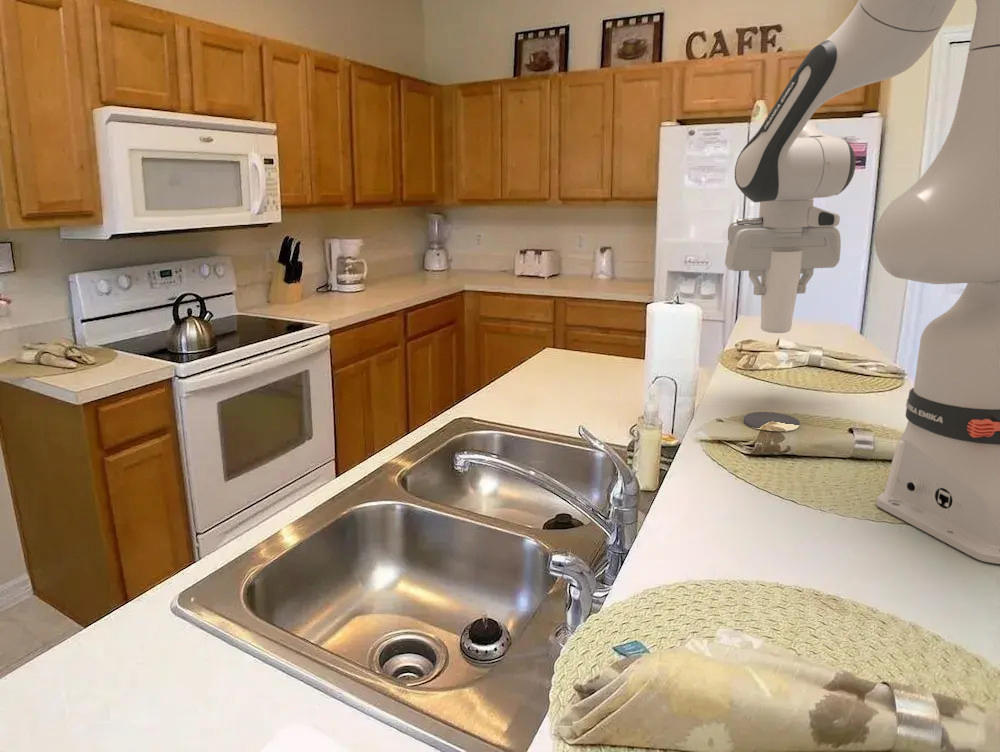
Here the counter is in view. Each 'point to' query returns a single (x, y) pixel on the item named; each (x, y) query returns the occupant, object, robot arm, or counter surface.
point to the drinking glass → (780, 291)
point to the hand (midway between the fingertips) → (779, 294)
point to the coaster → (768, 419)
